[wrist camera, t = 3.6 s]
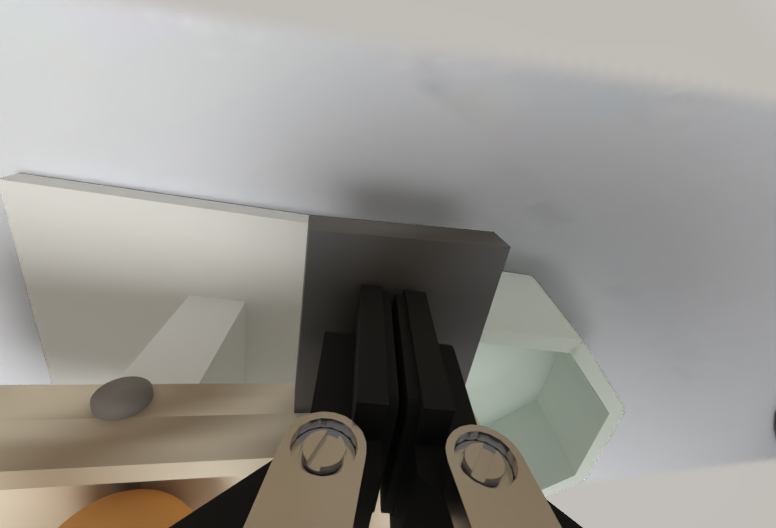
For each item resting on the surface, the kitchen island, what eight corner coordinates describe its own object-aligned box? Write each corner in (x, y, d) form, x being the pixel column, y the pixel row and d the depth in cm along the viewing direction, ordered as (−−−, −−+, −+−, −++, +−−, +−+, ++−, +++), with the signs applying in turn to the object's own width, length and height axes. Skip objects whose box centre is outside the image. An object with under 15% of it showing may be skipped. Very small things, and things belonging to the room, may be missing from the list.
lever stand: (410, 229, 17) (430, 315, 11) (369, 436, 23) (367, 570, 17) (18, 172, 16) (-210, 236, 10) (76, 410, 21) (-45, 546, 15)
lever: (504, 229, 11) (574, 287, 8) (418, 506, 16) (442, 600, 14) (-592, 125, 6) (-1323, 177, 4) (-213, 560, 12) (-380, 722, 9)
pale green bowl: (591, 283, 19) (660, 350, 14) (525, 433, 23) (561, 521, 19) (381, 254, 18) (383, 316, 13) (353, 417, 22) (347, 505, 18)
